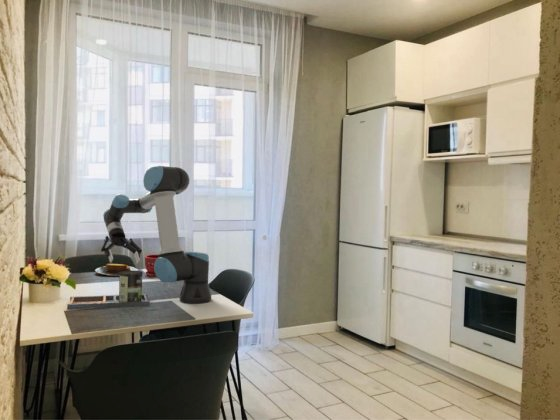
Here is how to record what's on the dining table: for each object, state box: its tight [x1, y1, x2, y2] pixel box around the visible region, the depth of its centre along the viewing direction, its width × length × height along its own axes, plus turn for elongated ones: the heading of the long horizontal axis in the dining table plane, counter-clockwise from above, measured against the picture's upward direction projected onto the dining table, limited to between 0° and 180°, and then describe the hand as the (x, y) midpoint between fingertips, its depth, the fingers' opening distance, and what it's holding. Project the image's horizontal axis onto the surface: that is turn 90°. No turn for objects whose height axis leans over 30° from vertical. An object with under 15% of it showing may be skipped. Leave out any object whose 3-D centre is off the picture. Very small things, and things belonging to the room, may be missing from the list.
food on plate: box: [94, 263, 139, 277], centre depth 290 cm, size 25×25×7 cm
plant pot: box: [144, 254, 158, 278], centre depth 288 cm, size 13×13×12 cm
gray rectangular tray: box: [66, 293, 150, 310], centre depth 215 cm, size 34×16×2 cm, turn 109°
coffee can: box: [118, 270, 143, 302], centre depth 218 cm, size 10×10×14 cm
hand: (125, 261), depth 230 cm, fingers open, 13 cm apart
